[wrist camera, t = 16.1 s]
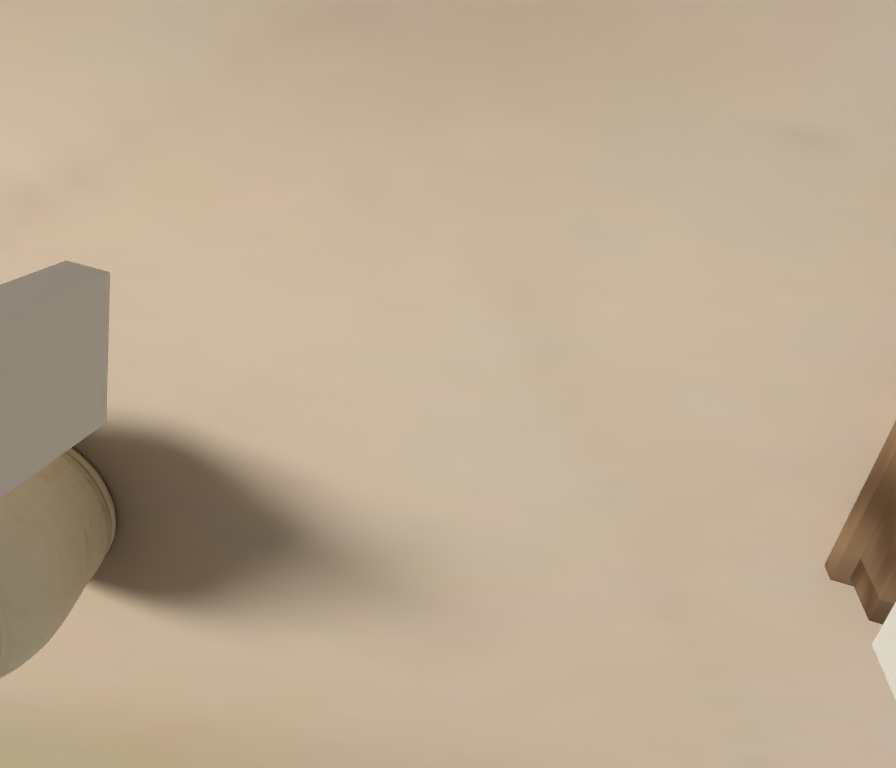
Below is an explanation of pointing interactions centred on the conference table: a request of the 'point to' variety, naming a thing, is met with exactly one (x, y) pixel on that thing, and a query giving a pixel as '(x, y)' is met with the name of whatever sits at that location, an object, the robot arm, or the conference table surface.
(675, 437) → the conference table surface
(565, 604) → the conference table surface
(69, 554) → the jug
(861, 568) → the u rest
